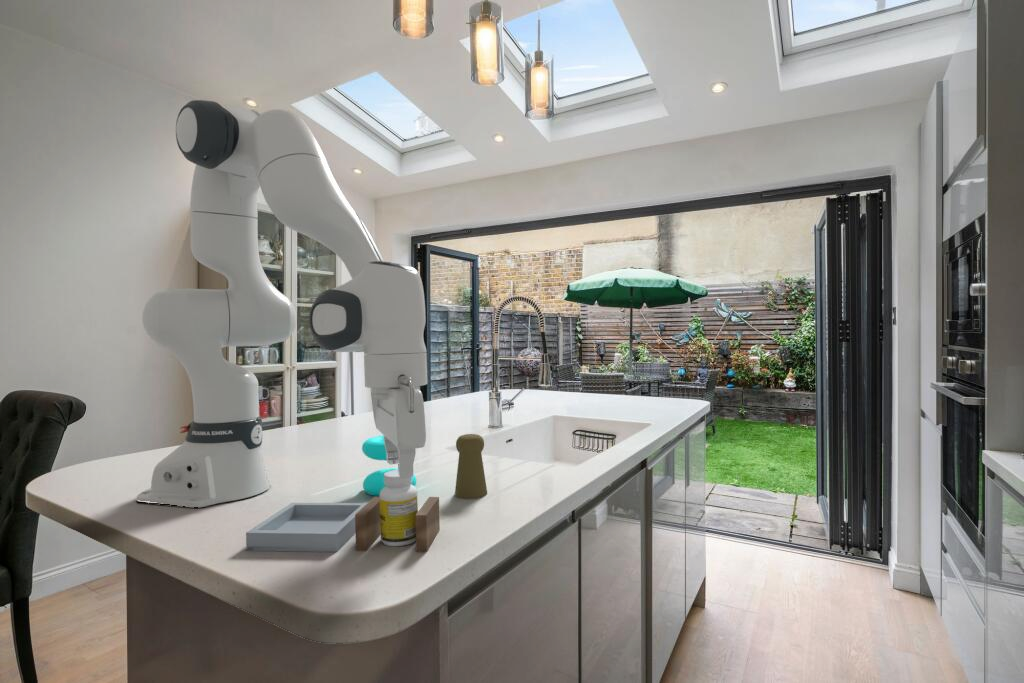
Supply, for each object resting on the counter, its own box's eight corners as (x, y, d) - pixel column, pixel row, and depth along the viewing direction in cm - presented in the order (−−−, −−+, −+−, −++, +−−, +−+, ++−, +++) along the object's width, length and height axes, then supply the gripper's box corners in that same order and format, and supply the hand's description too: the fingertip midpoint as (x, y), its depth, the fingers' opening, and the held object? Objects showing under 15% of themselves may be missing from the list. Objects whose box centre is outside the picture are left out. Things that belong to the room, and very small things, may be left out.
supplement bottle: (383, 533, 79) (382, 468, 79) (420, 531, 79) (418, 467, 79) (377, 548, 73) (375, 478, 73) (416, 546, 74) (415, 476, 74)
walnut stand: (355, 550, 73) (355, 514, 73) (375, 529, 81) (374, 496, 81) (427, 551, 72) (426, 515, 72) (439, 529, 80) (439, 496, 80)
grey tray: (246, 550, 73) (246, 532, 73) (292, 517, 86) (292, 502, 86) (336, 551, 72) (336, 533, 72) (369, 518, 85) (369, 503, 85)
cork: (482, 499, 94) (481, 438, 94) (450, 498, 95) (449, 437, 95) (490, 489, 100) (489, 432, 100) (460, 488, 101) (459, 431, 101)
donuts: (351, 442, 97) (378, 432, 107) (352, 496, 97) (379, 481, 107) (400, 444, 95) (423, 434, 104) (401, 500, 95) (425, 484, 104)
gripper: (436, 376, 67) (439, 484, 67) (404, 370, 86) (406, 454, 86) (386, 378, 65) (389, 490, 65) (364, 372, 84) (367, 458, 84)
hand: (399, 469), depth 76 cm, fingers open, 8 cm apart
